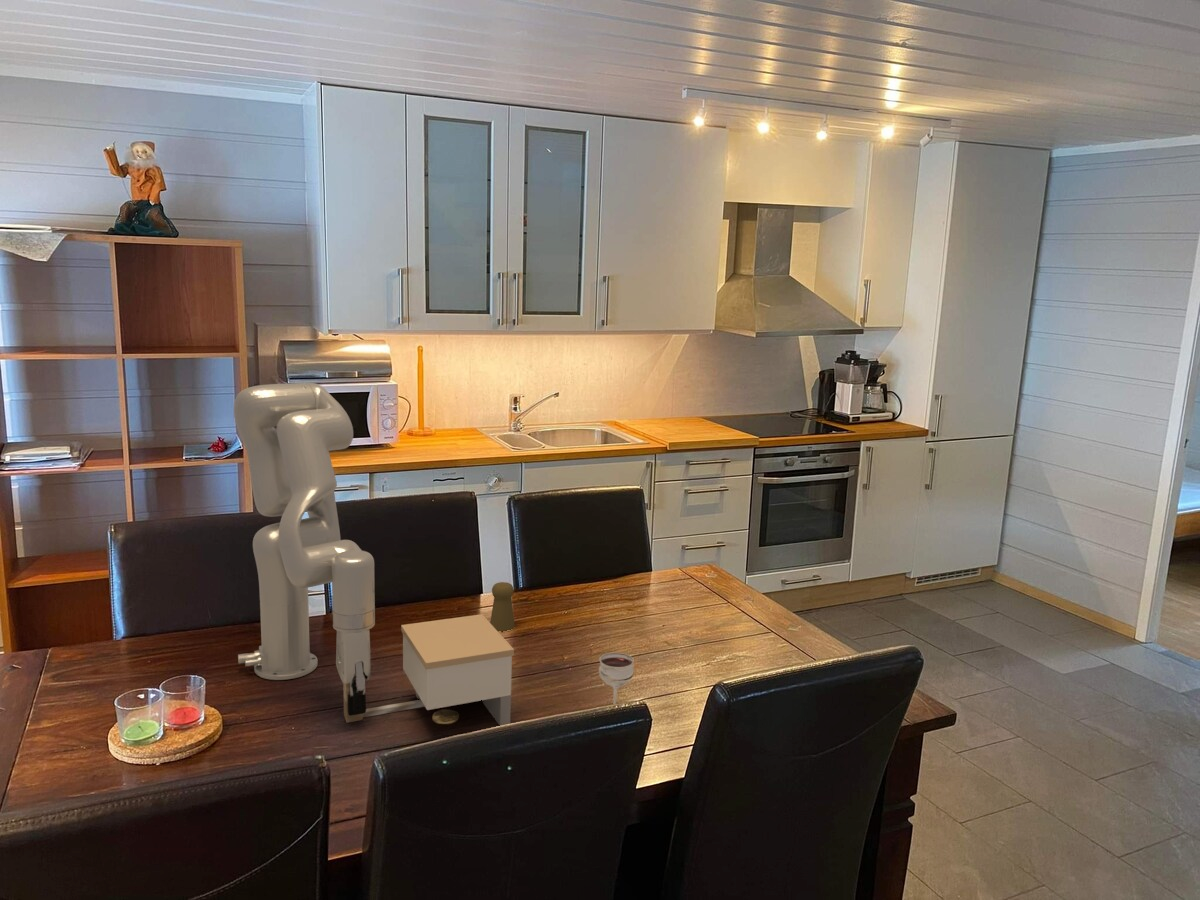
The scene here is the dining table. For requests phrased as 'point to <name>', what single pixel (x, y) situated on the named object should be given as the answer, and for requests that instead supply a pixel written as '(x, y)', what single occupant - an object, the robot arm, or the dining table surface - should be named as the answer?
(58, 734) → the dining table surface
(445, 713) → the brass disc
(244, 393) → the robot arm
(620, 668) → the wineglass
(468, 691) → the low cabinet
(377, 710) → the wooden mallet
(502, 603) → the olive pawn
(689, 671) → the dining table surface
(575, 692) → the dining table surface
